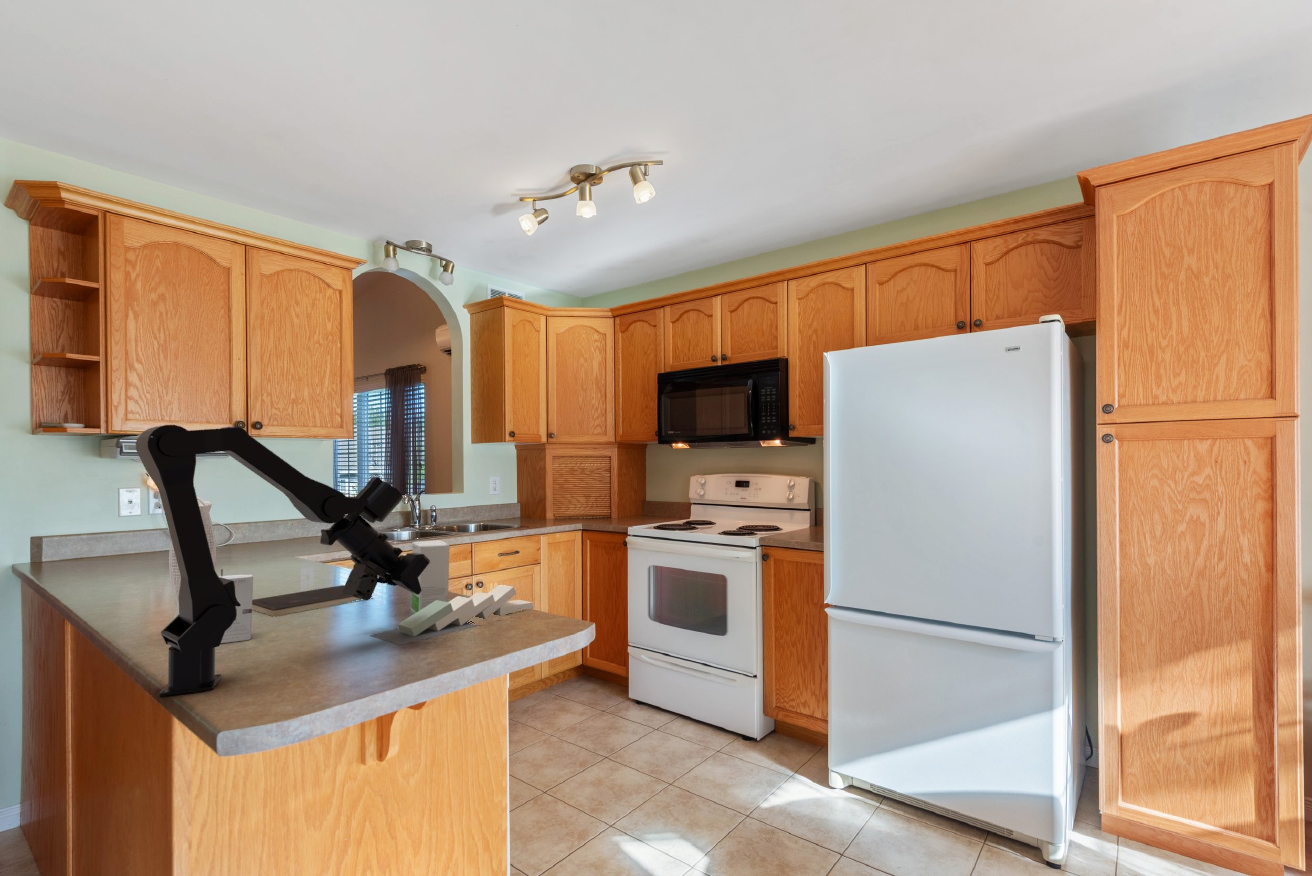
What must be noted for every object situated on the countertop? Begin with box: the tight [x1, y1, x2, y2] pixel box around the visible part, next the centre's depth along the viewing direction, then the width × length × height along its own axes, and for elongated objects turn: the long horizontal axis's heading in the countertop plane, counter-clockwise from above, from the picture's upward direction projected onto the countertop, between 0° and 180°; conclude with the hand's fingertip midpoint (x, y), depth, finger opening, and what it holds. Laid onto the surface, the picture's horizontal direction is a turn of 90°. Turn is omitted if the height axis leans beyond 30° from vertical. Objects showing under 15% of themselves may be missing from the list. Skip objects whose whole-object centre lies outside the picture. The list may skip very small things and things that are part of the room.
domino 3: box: [451, 591, 495, 625], centre depth 135 cm, size 2×5×9 cm
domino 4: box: [475, 584, 517, 619], centre depth 139 cm, size 2×5×9 cm
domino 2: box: [428, 595, 475, 631], centre depth 131 cm, size 2×5×9 cm
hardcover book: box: [252, 584, 375, 617], centre depth 156 cm, size 16×23×2 cm
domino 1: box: [397, 600, 453, 637], centre depth 127 cm, size 2×5×9 cm
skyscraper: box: [168, 496, 224, 620], centre depth 127 cm, size 8×8×28 cm
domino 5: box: [493, 599, 534, 616], centre depth 143 cm, size 2×5×9 cm
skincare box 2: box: [410, 539, 450, 614], centre depth 144 cm, size 8×7×16 cm
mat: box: [369, 620, 481, 646], centre depth 130 cm, size 26×11×1 cm, turn 141°
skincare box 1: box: [218, 573, 254, 644], centre depth 124 cm, size 6×4×12 cm
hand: (419, 592), depth 126 cm, fingers closed
